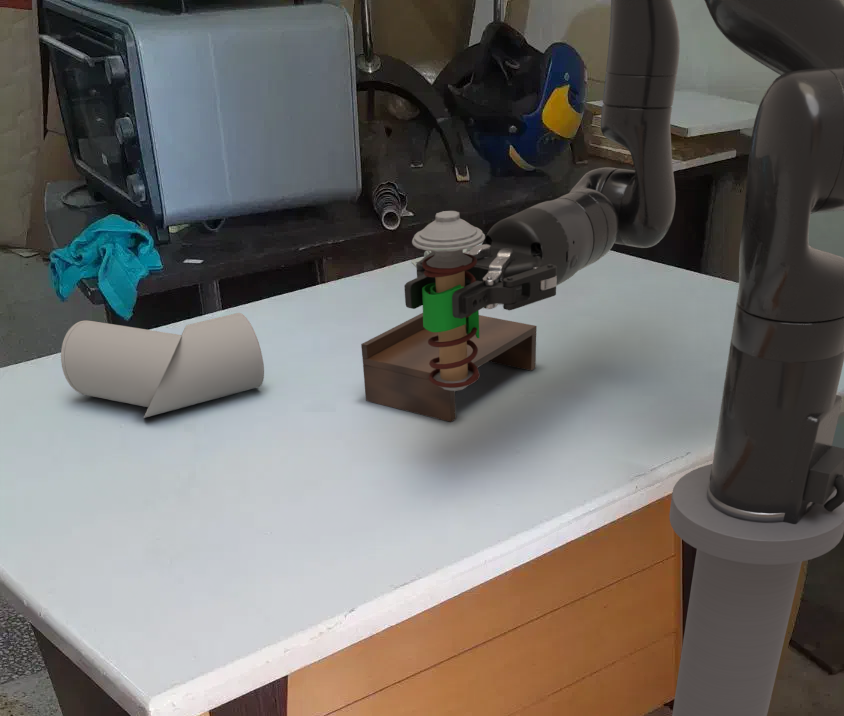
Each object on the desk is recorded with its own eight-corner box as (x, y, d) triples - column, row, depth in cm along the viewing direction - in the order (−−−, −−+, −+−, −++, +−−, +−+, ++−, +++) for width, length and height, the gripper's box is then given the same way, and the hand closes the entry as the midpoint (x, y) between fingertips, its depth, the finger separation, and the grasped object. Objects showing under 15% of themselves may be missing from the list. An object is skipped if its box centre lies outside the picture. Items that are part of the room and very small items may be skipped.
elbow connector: (108, 436, 110) (274, 390, 117) (76, 334, 105) (252, 293, 112) (71, 419, 124) (222, 379, 131) (41, 328, 119) (200, 292, 126)
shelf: (535, 368, 122) (537, 312, 118) (450, 422, 112) (448, 363, 107) (454, 350, 128) (452, 297, 124) (365, 400, 117) (360, 343, 113)
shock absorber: (501, 386, 96) (499, 212, 86) (448, 405, 93) (440, 229, 83) (460, 367, 100) (454, 199, 90) (408, 385, 97) (395, 215, 87)
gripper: (478, 199, 100) (366, 245, 91) (604, 215, 93) (497, 268, 84) (480, 278, 105) (374, 331, 96) (599, 300, 98) (498, 359, 88)
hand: (432, 301), depth 90 cm, fingers closed on shock absorber, 4 cm apart
